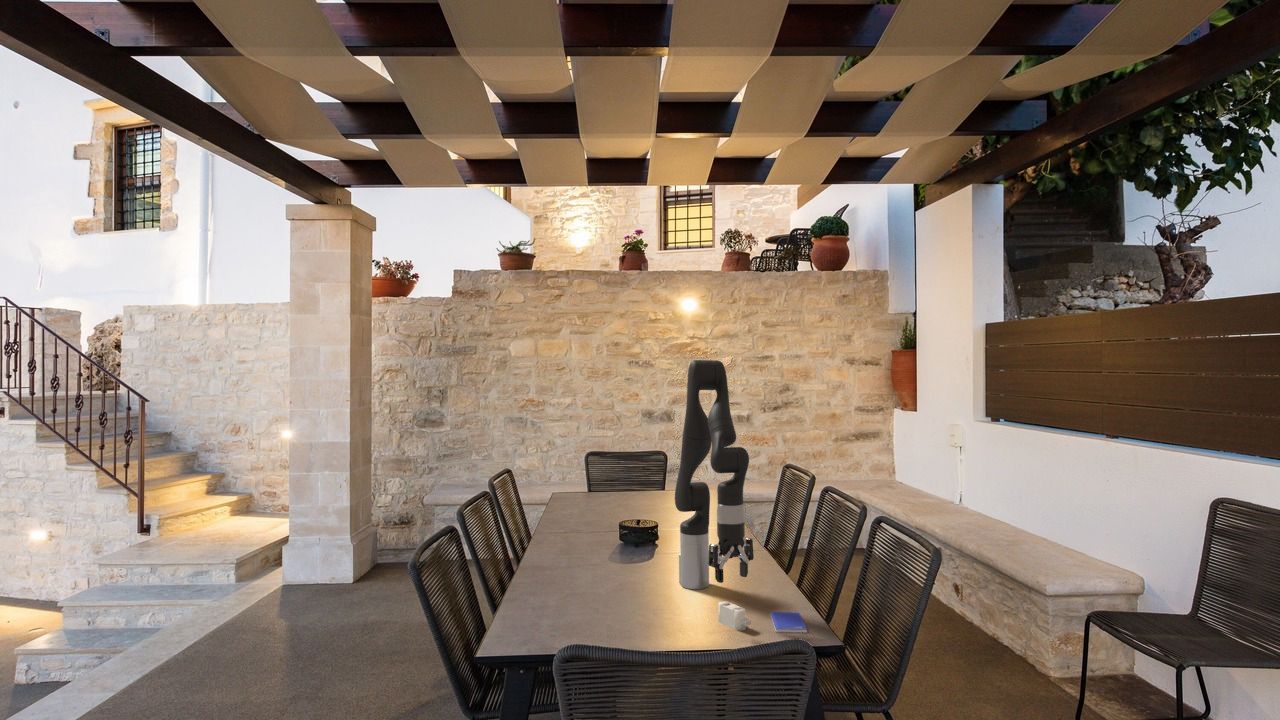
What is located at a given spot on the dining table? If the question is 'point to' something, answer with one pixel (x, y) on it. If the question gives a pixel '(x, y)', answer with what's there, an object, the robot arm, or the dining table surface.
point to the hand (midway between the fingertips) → (731, 579)
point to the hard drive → (788, 622)
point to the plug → (733, 616)
